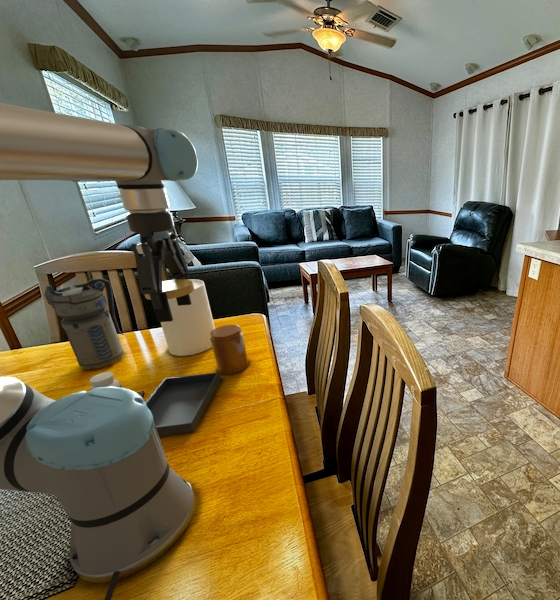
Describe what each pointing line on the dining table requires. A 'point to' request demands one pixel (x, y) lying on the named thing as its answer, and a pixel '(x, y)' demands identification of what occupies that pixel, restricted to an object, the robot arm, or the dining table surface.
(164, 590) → the dining table surface
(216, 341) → the jar
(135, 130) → the robot arm
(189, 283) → the lid
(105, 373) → the pill bottle
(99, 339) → the beverage bottle
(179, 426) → the tray
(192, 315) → the canister
